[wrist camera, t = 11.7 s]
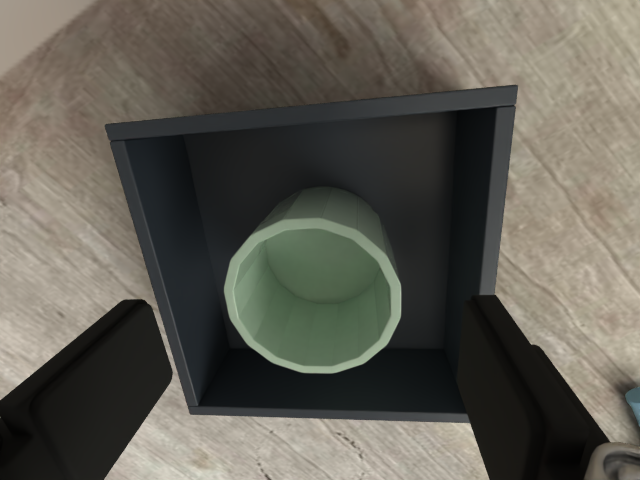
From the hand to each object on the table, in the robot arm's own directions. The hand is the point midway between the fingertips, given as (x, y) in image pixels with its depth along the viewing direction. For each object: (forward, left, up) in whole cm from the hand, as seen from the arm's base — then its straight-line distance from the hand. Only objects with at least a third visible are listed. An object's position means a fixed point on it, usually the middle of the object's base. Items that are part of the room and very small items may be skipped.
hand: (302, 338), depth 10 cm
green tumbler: (+1, 0, -8) cm, 8 cm away
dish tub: (+1, 0, -9) cm, 9 cm away
